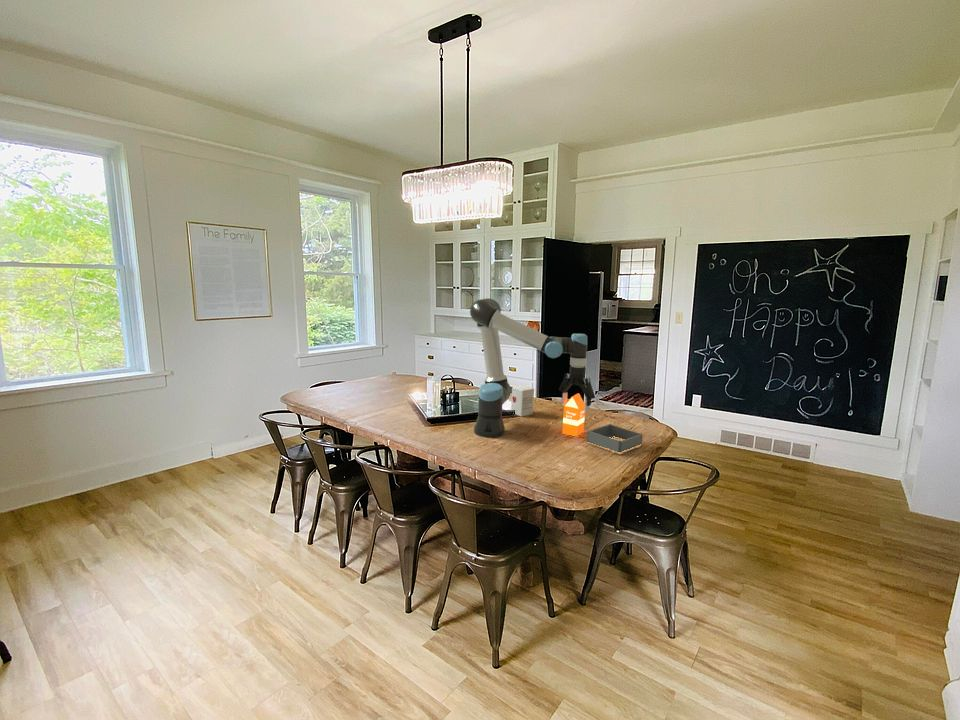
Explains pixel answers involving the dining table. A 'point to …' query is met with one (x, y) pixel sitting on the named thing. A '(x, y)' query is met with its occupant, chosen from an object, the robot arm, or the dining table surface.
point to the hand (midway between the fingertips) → (575, 408)
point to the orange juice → (574, 416)
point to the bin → (603, 433)
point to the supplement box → (522, 400)
